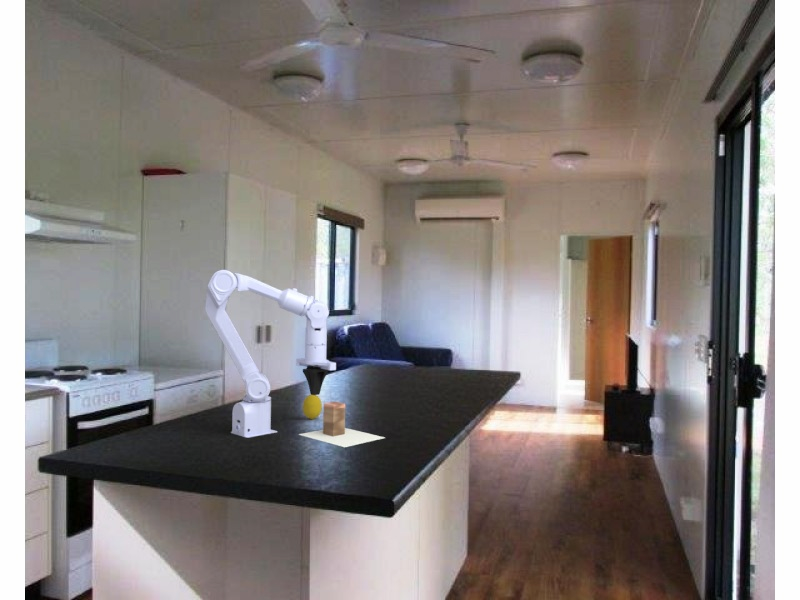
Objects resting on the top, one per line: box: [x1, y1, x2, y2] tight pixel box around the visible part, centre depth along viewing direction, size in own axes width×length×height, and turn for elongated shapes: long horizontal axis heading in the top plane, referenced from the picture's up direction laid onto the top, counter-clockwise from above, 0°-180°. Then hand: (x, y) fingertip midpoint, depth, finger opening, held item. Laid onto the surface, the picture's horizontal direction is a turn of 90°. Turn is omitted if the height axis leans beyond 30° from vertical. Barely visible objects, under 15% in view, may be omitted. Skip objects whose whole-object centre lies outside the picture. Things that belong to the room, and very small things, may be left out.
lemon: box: [302, 394, 323, 420], centre depth 169 cm, size 6×6×8 cm
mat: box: [298, 427, 386, 448], centre depth 148 cm, size 14×18×1 cm
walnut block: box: [322, 401, 346, 437], centre depth 150 cm, size 4×4×8 cm
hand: (315, 394), depth 156 cm, fingers closed
